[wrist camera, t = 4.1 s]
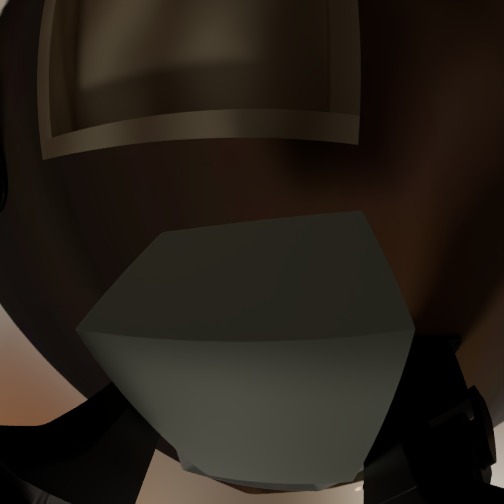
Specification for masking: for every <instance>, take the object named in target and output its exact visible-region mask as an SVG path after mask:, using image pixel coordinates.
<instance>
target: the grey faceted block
mask: <svg viewBox="0 0 504 504" xmlns="http://www.w3.org/2000/svg"><path fill="white" fill-rule="evenodd" d="M75 330H76V332H77V333H78V335H79V336H80V338H81V339H82V341H83V342H84V344H85V345H86V347H87V348H88V350H89V351H90V352H91V354H92V355H93V357H94V358H95V359H96V361H97V362H98V363H99V365H100V366H101V367H102V369H103V370H104V371H105V373H106V374H107V375H108V377H109V378H110V379H111V380H112V382H113V383H114V384H115V385H116V386H117V388H118V389H119V390H120V391H121V393H122V394H123V395H124V396H125V397H126V398H127V400H128V401H129V402H130V403H131V404H132V405H133V406H134V407H135V409H136V410H137V411H138V412H139V413H140V414H141V415H142V416H143V417H144V418H145V419H146V420H147V421H148V422H149V423H150V424H151V426H152V427H153V428H154V429H155V430H156V431H157V432H158V433H159V434H161V435H162V436H163V437H164V438H165V439H166V440H167V441H168V442H169V443H170V444H171V445H172V446H173V447H174V448H175V449H176V450H178V451H179V452H180V453H181V454H182V455H183V456H184V457H186V458H187V459H188V460H189V461H190V462H191V463H193V464H194V465H195V466H196V467H197V468H199V469H200V470H201V471H202V472H204V473H205V474H206V475H210V476H215V477H221V478H228V479H235V480H243V481H252V482H264V483H280V484H324V483H341V482H352V481H353V480H354V478H355V477H356V475H357V473H358V472H359V470H360V468H361V466H362V464H363V462H364V461H365V459H366V457H367V455H368V453H369V451H370V449H371V447H372V445H373V443H374V441H375V439H376V437H377V435H378V433H379V430H380V428H381V426H382V424H383V421H384V419H385V417H386V414H387V412H388V410H389V407H390V405H391V402H392V400H393V397H394V395H395V392H396V389H397V386H398V384H399V381H400V378H401V375H402V372H403V369H404V366H405V363H406V360H407V357H408V353H409V350H410V347H411V343H412V340H413V336H414V332H415V326H414V324H413V321H412V318H411V316H410V313H409V311H408V308H407V305H406V303H405V301H404V298H403V296H402V293H401V291H400V289H399V286H398V284H397V282H396V279H395V277H394V275H393V273H392V270H391V268H390V266H389V264H388V262H387V259H386V257H385V255H384V253H383V251H382V249H381V247H380V245H379V243H378V241H377V239H376V237H375V235H374V233H373V231H372V229H371V227H370V225H369V223H368V221H367V219H366V218H365V216H364V214H363V212H362V211H350V212H338V213H327V214H316V215H305V216H295V217H285V218H276V219H267V220H258V221H249V222H240V223H232V224H223V225H215V226H207V227H199V228H192V229H184V230H177V231H169V232H162V233H161V234H160V235H159V236H158V237H157V238H156V239H155V240H154V241H153V242H152V243H151V244H150V245H149V246H148V247H147V248H146V249H145V250H144V251H143V252H142V253H141V254H140V256H139V257H138V258H137V259H136V260H135V261H134V262H133V263H132V264H131V265H130V266H129V267H128V268H127V269H126V271H125V272H124V273H123V274H122V275H121V276H120V277H119V278H118V279H117V281H116V282H115V283H114V284H113V285H112V286H111V287H110V288H109V290H108V291H107V292H106V293H105V294H104V295H103V296H102V298H101V299H100V300H99V301H98V302H97V303H96V305H95V306H94V307H93V308H92V309H91V311H90V312H89V313H88V314H87V315H86V317H85V318H84V319H83V320H82V321H81V323H80V324H79V325H78V326H77V328H76V329H75Z"/></svg>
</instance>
